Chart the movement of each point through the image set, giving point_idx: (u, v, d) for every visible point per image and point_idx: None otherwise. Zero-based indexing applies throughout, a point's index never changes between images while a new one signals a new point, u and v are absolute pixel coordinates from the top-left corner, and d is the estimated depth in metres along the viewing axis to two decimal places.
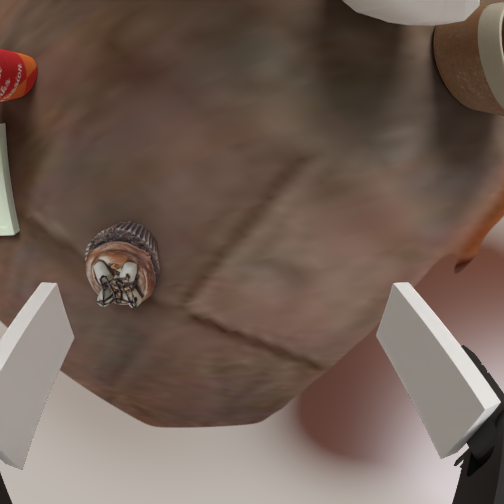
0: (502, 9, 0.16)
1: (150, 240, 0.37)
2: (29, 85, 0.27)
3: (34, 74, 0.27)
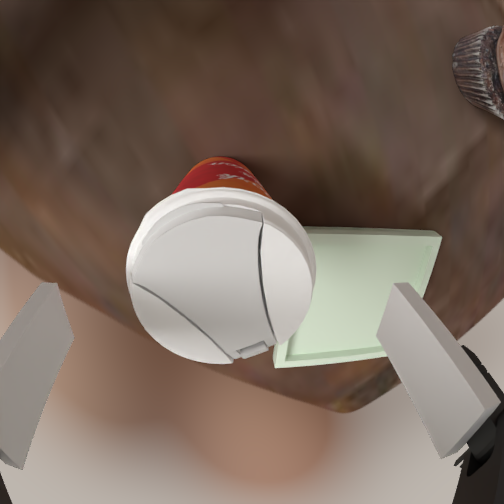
0: None
1: None
2: None
3: (226, 157, 0.23)
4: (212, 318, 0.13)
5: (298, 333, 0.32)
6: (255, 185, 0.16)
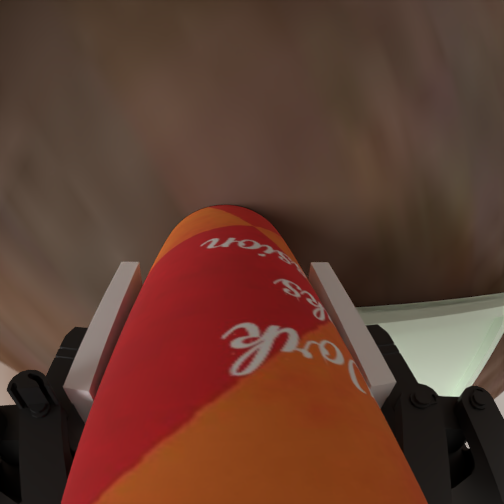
0: None
1: None
2: (269, 224, 0.13)
3: (235, 209, 0.13)
4: None
5: None
6: (328, 358, 0.06)
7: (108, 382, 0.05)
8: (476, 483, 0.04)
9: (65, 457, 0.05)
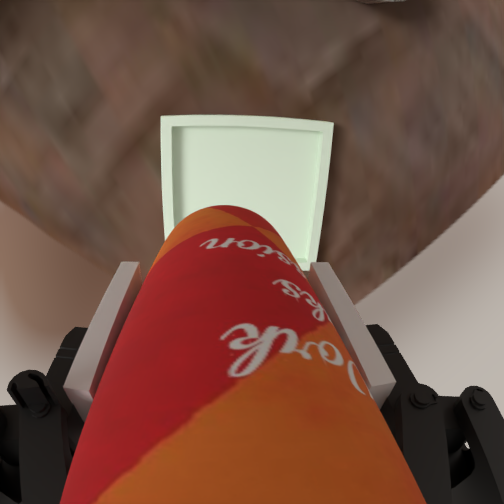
0: None
1: None
2: (268, 225, 0.13)
3: (235, 209, 0.13)
4: None
5: None
6: (327, 360, 0.06)
7: (107, 383, 0.05)
8: (476, 483, 0.04)
9: (65, 457, 0.05)
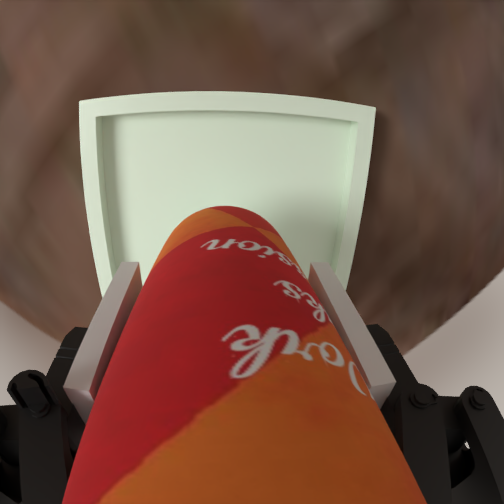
0: None
1: None
2: (269, 225, 0.13)
3: (235, 210, 0.13)
4: None
5: None
6: (328, 361, 0.06)
7: (108, 384, 0.05)
8: (476, 483, 0.04)
9: (65, 457, 0.05)
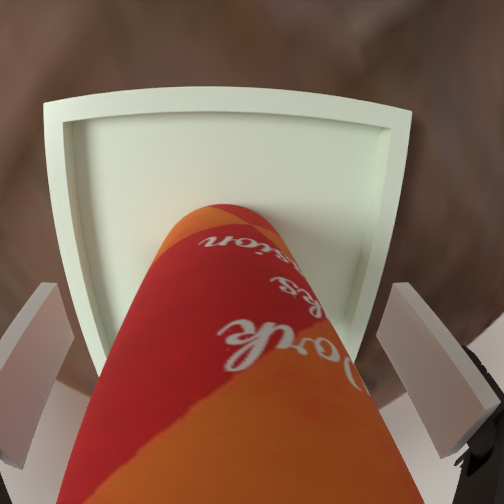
0: None
1: None
2: (267, 223, 0.13)
3: (234, 208, 0.13)
4: None
5: (122, 320, 0.16)
6: (324, 356, 0.06)
7: (105, 378, 0.05)
8: None
9: None
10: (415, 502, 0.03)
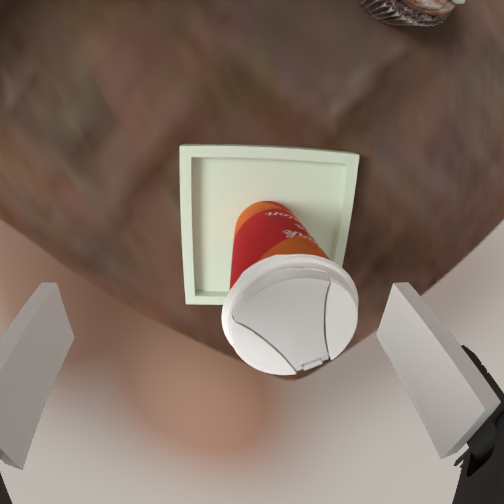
0: None
1: None
2: None
3: (273, 202, 0.28)
4: (287, 343, 0.17)
5: (207, 264, 0.32)
6: (311, 240, 0.21)
7: (246, 248, 0.21)
8: None
9: None
10: None
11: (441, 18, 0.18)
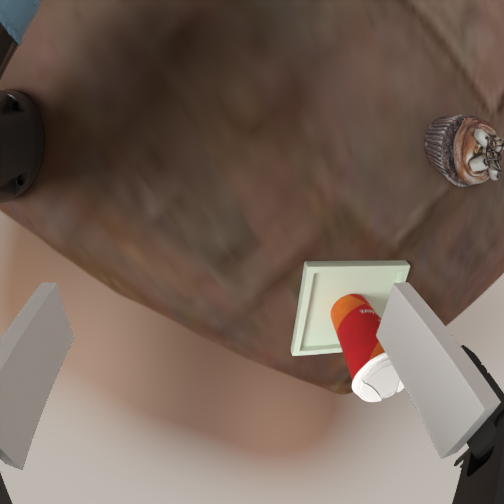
0: None
1: (447, 118, 0.32)
2: (366, 300, 0.44)
3: (357, 296, 0.44)
4: (382, 388, 0.33)
5: (309, 331, 0.47)
6: None
7: (359, 340, 0.36)
8: None
9: None
10: None
11: None
